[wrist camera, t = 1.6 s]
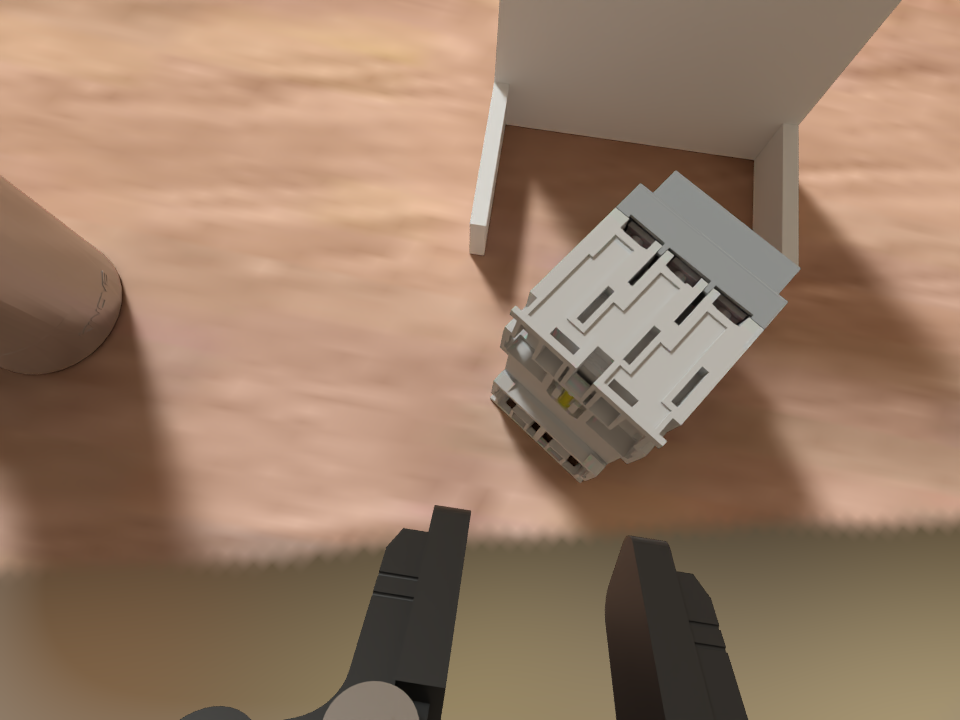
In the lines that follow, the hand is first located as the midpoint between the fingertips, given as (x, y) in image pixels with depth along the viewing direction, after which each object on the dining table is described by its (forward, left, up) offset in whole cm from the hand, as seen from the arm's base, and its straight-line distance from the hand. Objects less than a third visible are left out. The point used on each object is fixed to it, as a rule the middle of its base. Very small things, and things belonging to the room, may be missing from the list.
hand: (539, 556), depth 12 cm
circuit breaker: (+6, +12, -24) cm, 28 cm away
